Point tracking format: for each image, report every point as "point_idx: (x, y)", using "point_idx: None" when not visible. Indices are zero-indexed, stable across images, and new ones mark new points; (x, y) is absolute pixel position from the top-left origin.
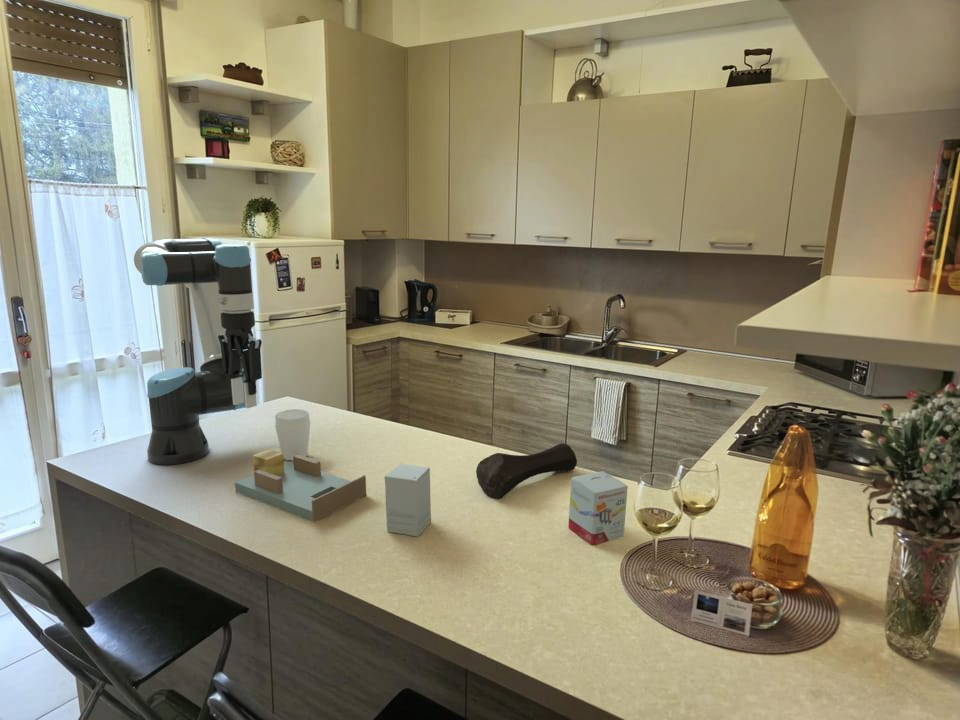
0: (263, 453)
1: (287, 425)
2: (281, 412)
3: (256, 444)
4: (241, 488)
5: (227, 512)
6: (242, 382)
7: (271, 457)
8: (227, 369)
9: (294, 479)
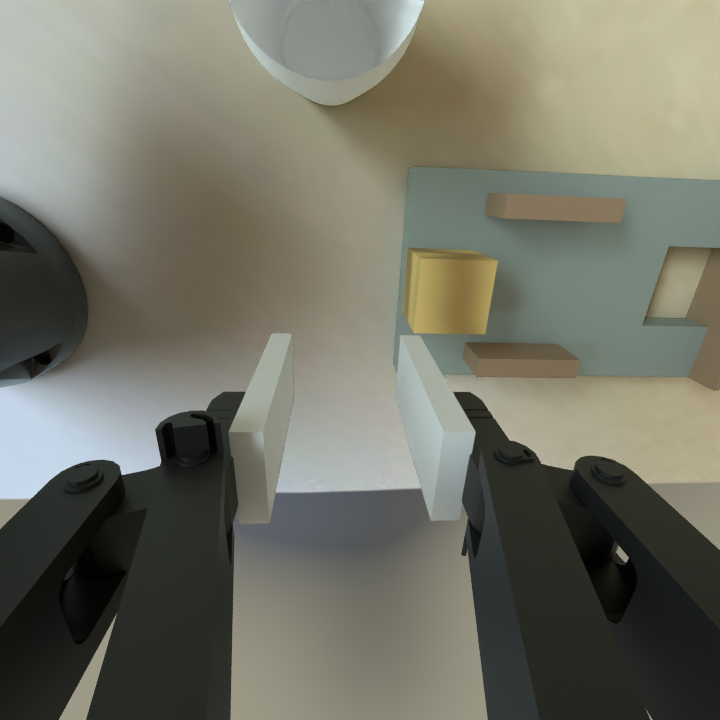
0: (433, 301)
1: (376, 76)
2: None
3: (78, 33)
4: None
5: None
6: (273, 405)
7: (486, 311)
8: (118, 587)
9: (537, 271)
